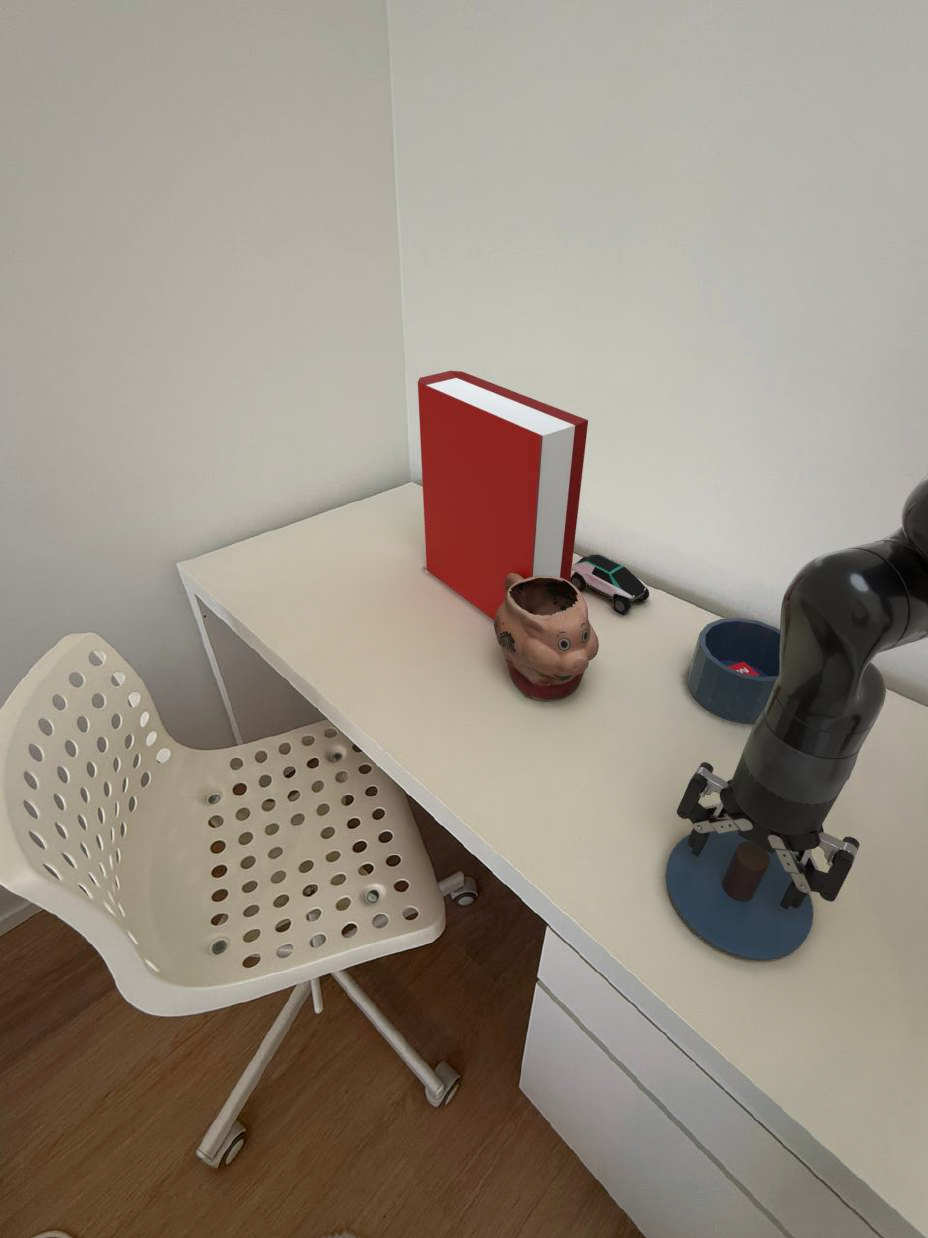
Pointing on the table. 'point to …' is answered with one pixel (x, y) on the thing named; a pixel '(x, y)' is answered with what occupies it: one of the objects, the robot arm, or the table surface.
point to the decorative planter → (545, 635)
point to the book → (496, 485)
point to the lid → (737, 897)
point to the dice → (744, 669)
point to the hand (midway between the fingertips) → (741, 874)
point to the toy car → (609, 581)
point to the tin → (726, 686)
